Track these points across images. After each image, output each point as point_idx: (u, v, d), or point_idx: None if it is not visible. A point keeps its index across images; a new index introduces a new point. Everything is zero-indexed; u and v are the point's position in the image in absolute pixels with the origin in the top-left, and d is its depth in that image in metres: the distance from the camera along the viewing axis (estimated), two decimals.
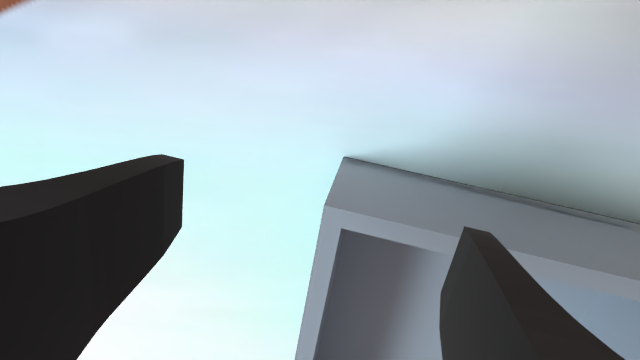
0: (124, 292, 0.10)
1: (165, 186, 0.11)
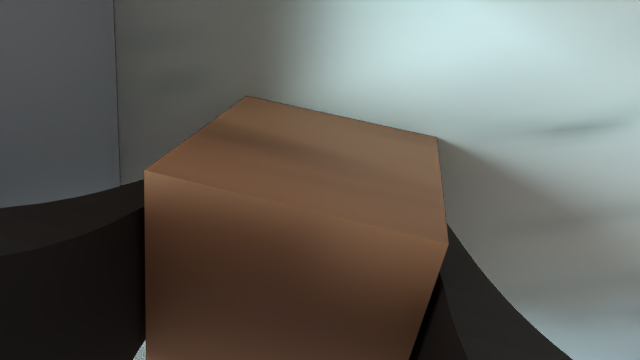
0: None
1: None
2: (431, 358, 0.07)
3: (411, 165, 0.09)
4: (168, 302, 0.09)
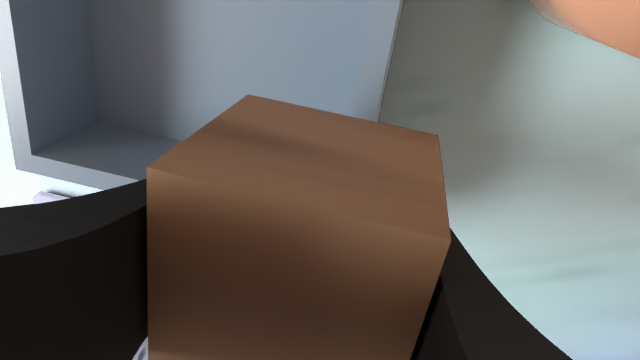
0: None
1: None
2: (431, 358, 0.07)
3: (413, 162, 0.09)
4: (169, 299, 0.09)
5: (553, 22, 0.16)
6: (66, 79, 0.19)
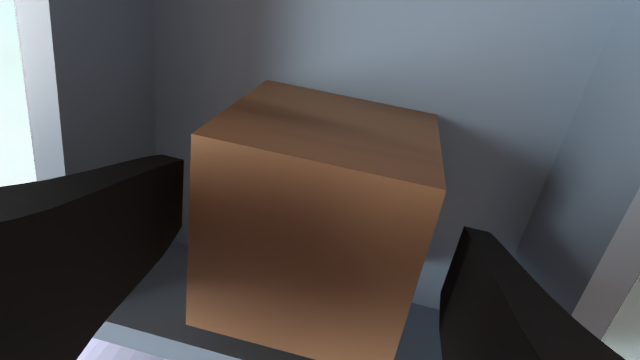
0: (124, 292, 0.10)
1: (165, 186, 0.11)
2: None
3: (414, 134, 0.11)
4: (207, 251, 0.10)
5: None
6: None
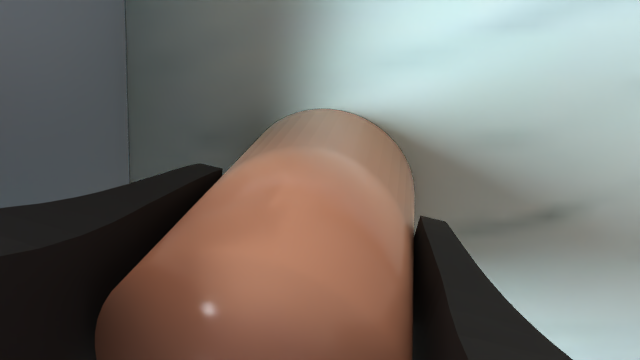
0: None
1: None
2: (431, 358, 0.07)
3: None
4: None
5: None
6: None
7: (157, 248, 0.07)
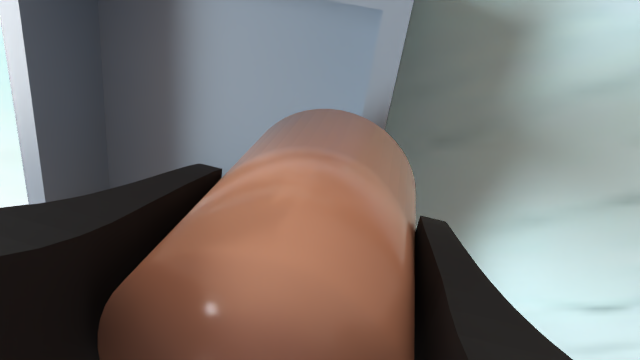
0: None
1: None
2: (431, 358, 0.07)
3: None
4: None
5: None
6: None
7: (158, 248, 0.07)
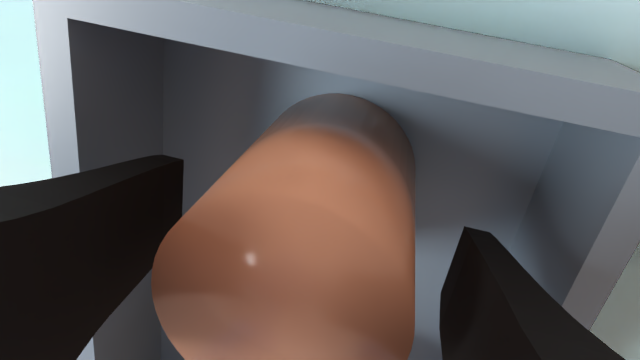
0: (124, 292, 0.10)
1: (165, 186, 0.11)
2: None
3: None
4: None
5: None
6: None
7: (203, 198, 0.08)
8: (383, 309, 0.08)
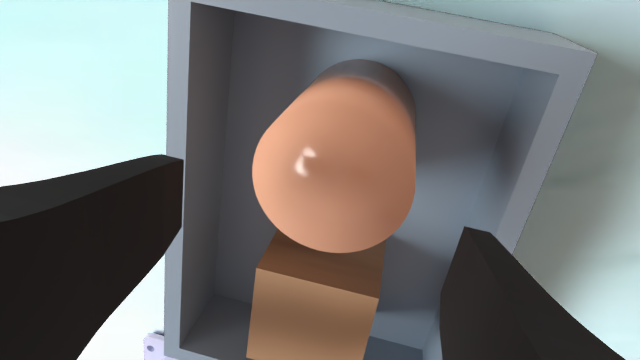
0: (124, 292, 0.10)
1: (165, 186, 0.11)
2: None
3: (370, 255, 0.20)
4: (260, 321, 0.19)
5: None
6: (201, 279, 0.23)
7: (287, 110, 0.14)
8: (396, 174, 0.13)
